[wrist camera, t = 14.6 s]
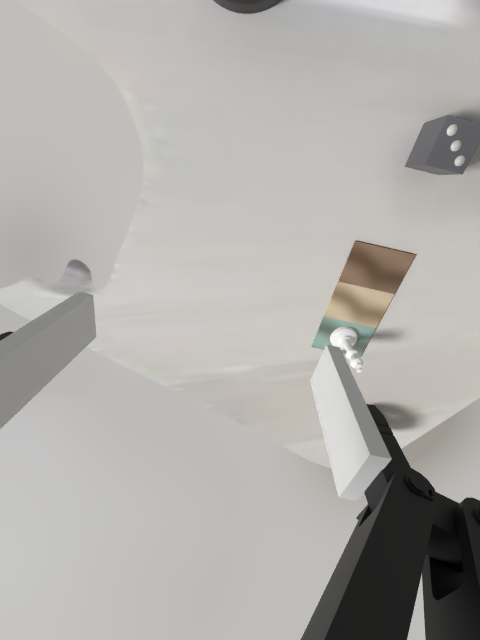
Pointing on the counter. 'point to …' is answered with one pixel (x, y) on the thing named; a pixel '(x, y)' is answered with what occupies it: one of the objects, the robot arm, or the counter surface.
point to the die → (445, 146)
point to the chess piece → (347, 345)
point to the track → (363, 293)
